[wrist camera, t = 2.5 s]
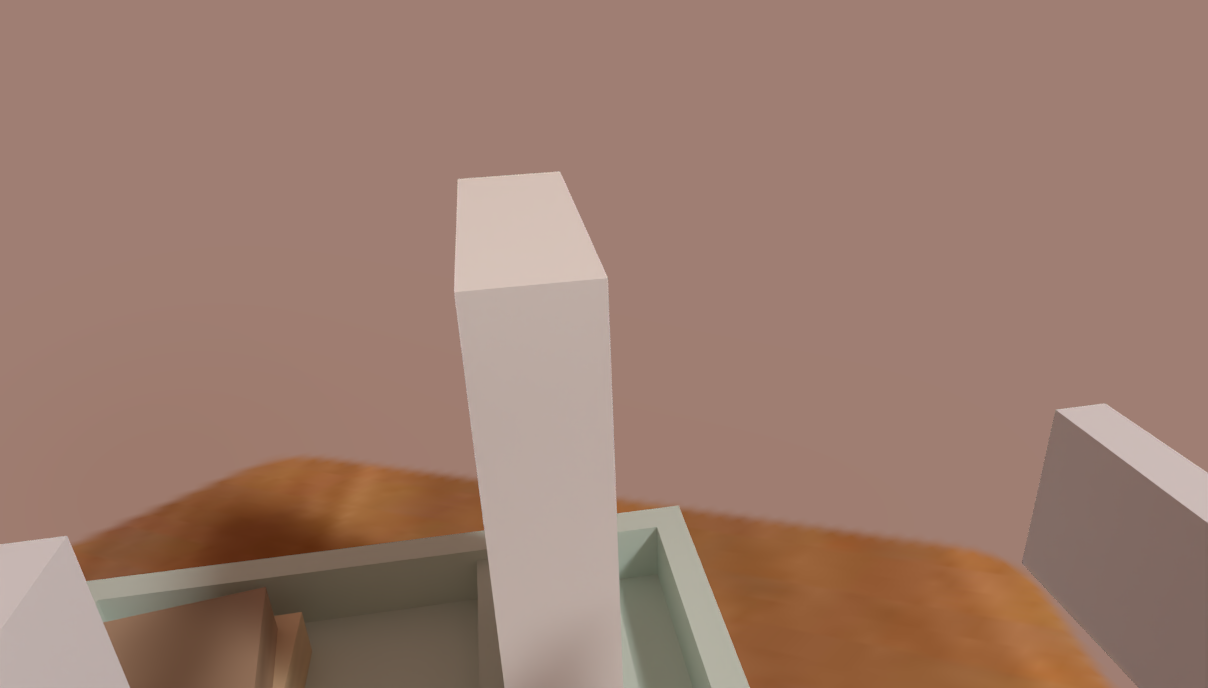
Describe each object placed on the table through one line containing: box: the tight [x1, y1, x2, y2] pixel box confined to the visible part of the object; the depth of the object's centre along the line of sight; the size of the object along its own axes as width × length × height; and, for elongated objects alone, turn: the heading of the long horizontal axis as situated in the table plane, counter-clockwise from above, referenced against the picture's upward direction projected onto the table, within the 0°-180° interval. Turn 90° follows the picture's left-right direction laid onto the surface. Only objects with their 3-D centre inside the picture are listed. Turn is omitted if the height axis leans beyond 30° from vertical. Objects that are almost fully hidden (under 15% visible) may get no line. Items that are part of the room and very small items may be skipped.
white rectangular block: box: [454, 172, 623, 688], centre depth 24 cm, size 3×9×18 cm, turn 9°
